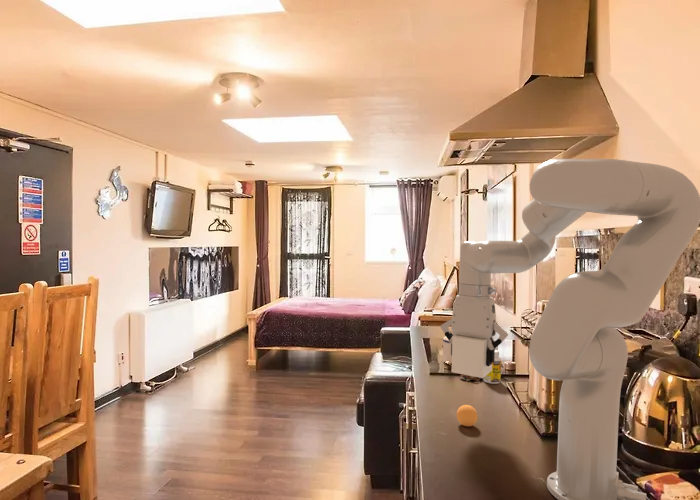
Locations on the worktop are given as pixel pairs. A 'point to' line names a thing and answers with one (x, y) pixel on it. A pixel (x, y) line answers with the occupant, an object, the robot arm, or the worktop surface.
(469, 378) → the pastry
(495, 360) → the supplement bottle
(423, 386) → the worktop surface
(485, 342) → the cream matte cube
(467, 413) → the ball
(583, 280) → the robot arm
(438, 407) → the worktop surface
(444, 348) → the teacup with lid
